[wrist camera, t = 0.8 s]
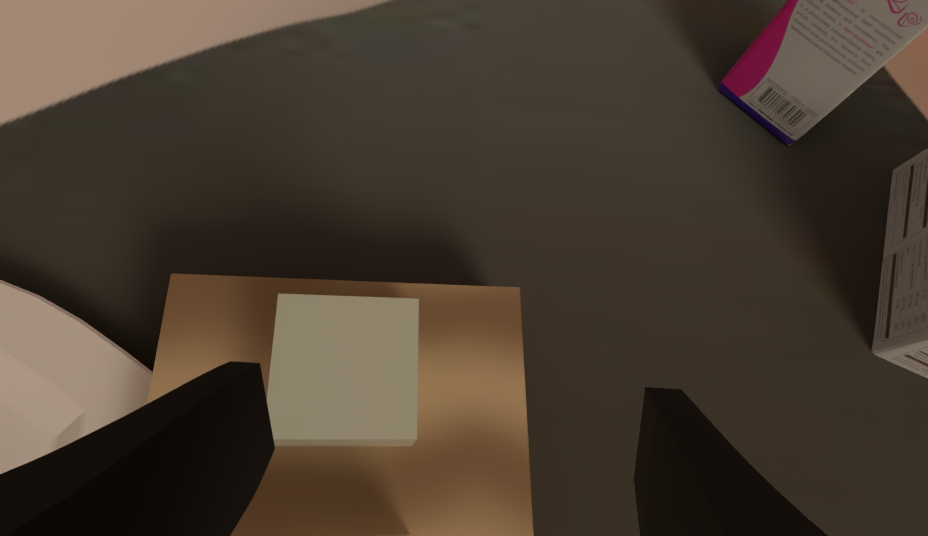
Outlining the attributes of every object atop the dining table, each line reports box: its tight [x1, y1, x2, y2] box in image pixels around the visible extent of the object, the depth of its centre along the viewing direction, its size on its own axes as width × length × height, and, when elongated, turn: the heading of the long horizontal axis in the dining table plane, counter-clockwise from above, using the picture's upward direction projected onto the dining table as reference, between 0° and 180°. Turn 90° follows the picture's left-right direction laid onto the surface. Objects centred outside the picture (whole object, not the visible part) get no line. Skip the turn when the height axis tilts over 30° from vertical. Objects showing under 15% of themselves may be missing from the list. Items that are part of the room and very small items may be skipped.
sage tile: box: [267, 294, 419, 446], centre depth 21 cm, size 5×5×2 cm
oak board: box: [147, 274, 533, 536], centre depth 23 cm, size 16×14×4 cm
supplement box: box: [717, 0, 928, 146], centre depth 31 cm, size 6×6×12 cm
